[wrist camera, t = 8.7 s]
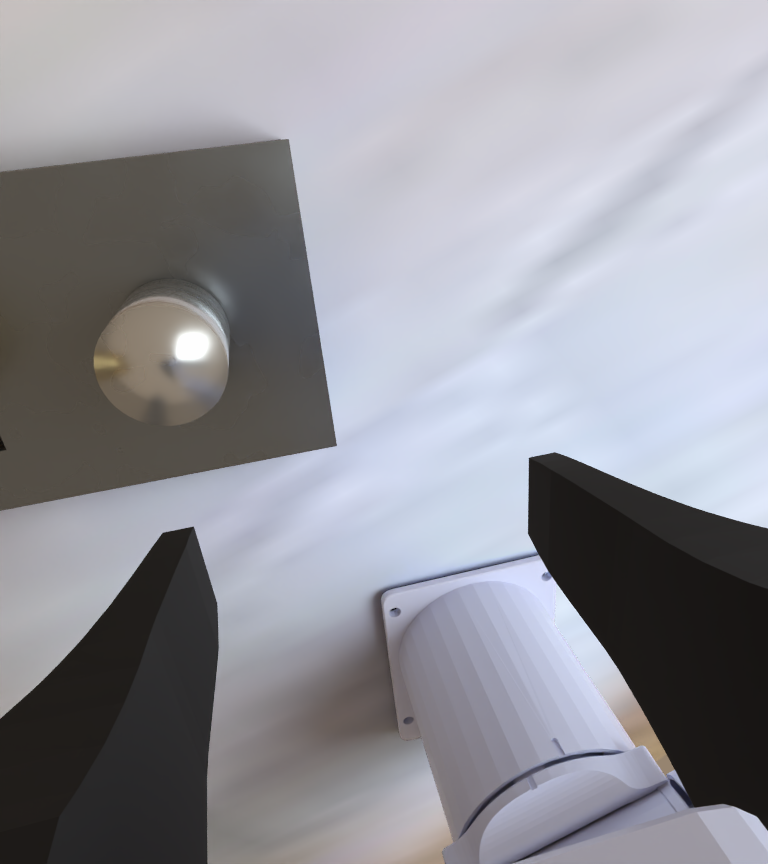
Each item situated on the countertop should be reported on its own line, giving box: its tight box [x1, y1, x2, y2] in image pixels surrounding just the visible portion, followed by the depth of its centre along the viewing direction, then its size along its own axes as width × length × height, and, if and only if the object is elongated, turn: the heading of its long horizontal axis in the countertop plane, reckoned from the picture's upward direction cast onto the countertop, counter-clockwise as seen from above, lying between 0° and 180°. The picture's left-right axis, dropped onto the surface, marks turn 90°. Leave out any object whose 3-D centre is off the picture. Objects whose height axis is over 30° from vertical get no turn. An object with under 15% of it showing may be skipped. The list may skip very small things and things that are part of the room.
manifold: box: [0, 139, 337, 511], centre depth 16 cm, size 9×16×6 cm, turn 96°
